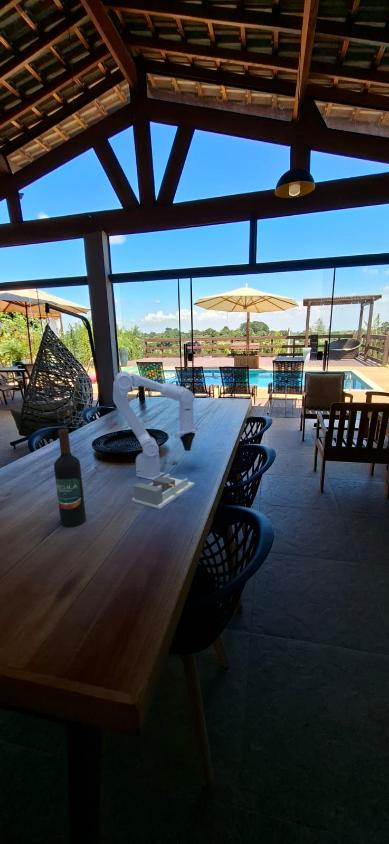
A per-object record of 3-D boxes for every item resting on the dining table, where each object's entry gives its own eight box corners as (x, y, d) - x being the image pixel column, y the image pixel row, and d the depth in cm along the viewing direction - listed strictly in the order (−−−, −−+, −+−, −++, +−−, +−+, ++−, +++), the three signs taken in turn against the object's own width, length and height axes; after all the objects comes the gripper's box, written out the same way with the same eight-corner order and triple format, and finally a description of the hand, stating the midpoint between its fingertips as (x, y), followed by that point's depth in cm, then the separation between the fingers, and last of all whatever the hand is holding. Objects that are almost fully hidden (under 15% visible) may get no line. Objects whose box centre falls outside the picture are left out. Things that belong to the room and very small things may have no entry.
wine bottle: (90, 517, 118) (81, 427, 111) (76, 528, 111) (65, 433, 104) (71, 513, 120) (60, 425, 113) (55, 525, 113) (43, 432, 106)
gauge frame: (132, 501, 129) (131, 485, 127) (169, 479, 147) (168, 465, 145) (159, 508, 122) (158, 492, 121) (194, 485, 140) (194, 470, 139)
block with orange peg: (148, 493, 132) (147, 482, 131) (160, 486, 137) (159, 476, 136) (169, 498, 127) (169, 488, 126) (180, 491, 133) (180, 480, 132)
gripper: (184, 423, 141) (186, 456, 144) (203, 415, 153) (204, 446, 156) (170, 421, 145) (171, 454, 148) (189, 414, 157) (190, 444, 160)
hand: (187, 450), depth 152 cm, fingers closed
